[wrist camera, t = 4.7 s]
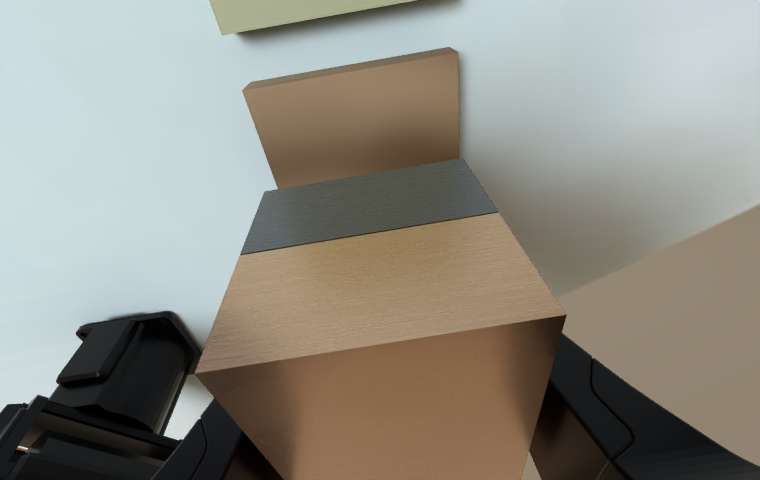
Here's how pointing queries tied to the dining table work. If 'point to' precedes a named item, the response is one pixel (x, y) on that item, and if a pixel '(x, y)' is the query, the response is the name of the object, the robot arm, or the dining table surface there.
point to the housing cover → (388, 354)
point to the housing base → (366, 205)
